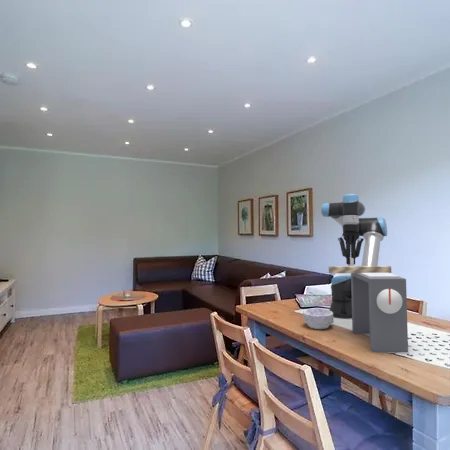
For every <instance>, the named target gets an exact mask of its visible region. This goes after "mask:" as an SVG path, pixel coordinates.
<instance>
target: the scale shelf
mask: <svg viewBox="0 0 450 450" xmlns="http://www.w3.org/2000/svg"><path fill="white" fill-rule="evenodd" d="M350 275H351V293H352V318H351V320H352V321H351V323H352V325H351V326H352V327H351V330H352V333H353V335H354V334H355V335H360V334H361V335H362V334H363V335H365V334H366V335H369V349H370V351H371V352H372V353H397V352H408V353H409V339H408V338H409V335H408V303H407V302H408V300H407V295H408V294H407V279H406V278H405V277H402V276H400V275H397V274H395V273H394V274H393V273H392V272H391V273H350Z"/></svg>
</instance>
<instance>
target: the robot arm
mask: <svg viewBox="0 0 450 450" xmlns="http://www.w3.org/2000/svg"><path fill="white" fill-rule="evenodd" d="M359 200H360V199H359V195H358V194H356V193H347V194H346V193H345V194H344V195H343V196H342V202H340V201H339V202H327V203H323V204H322V205H321V210H320V212H321V215H322V217H325V218H326V217H328V218H329V217H330V218H331V219H332V220H334V221H335V222H337V223H338V224H339V225H340V226H341V228H342V233H341V234H342V235H341V236H340V237H339V236H338V238H337V240H338V242H339V245H340V251H341V255H342V257H344V258H346V260H345V261H346V262H345V264H346V265H347V266H356V258H359V256H360V253H361V249H362V244H363V241H364V246H363V254H362V259H361V266H379V265H378V264H379V253H380V247H381V242H382V241H383V240H384V237H387V236H388V226H387V222H386V219H385V218H384V217H378V216H377V217H361V216H363V215H364V214H365V213H366V207H365V205H364V203H362V202H360V201H359ZM330 289H332V291H331V304H330V306H329V309H328V310H329V311H332V312H333V318H338V319H352V293H351V274H350V275H337V276H334V277H332V278H331V283H330Z"/></svg>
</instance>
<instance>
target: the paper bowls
mask: <svg viewBox="0 0 450 450" xmlns="http://www.w3.org/2000/svg"><path fill="white" fill-rule="evenodd" d="M329 310H330V309H325V308H308V309H305V310H303V312H302V313H303V314H302V316H303V318H302V319H303V322H304V323H306V324H307V327H309V328H310V329H313V328H314V330H326V329H328V328H329V327H330V325H332V324H333V323H334V317H333V312H332V311H329Z"/></svg>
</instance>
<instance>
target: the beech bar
mask: <svg viewBox="0 0 450 450" xmlns="http://www.w3.org/2000/svg"><path fill="white" fill-rule="evenodd" d="M328 273H329V274H351V273H391V274H392V266H390V265H378V266H362V265H359V266H358V265H354V266H348V265H346V266H345V265H341V266H337V265H336V266H330V265H329V266H328Z"/></svg>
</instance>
